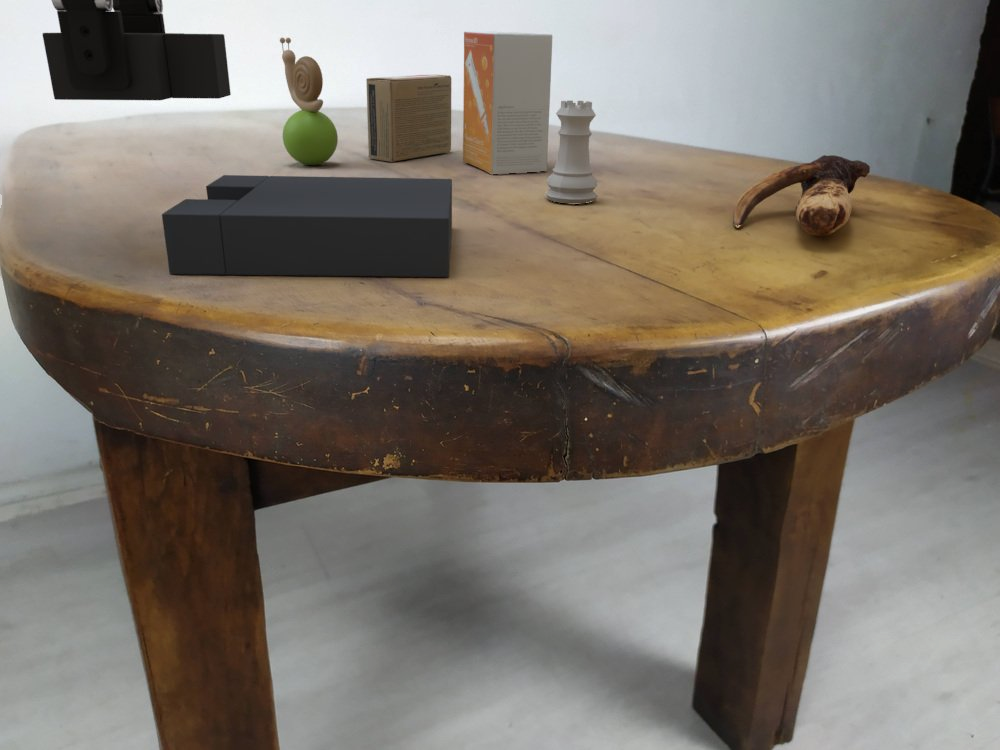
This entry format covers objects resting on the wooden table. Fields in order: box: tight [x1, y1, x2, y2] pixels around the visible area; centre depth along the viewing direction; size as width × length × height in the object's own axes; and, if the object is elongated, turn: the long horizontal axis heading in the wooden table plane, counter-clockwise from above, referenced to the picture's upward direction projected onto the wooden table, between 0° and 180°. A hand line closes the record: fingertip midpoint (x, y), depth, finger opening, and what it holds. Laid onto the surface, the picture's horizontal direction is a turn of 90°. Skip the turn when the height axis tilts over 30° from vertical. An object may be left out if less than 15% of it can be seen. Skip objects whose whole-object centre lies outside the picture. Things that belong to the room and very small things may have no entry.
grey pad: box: [161, 174, 453, 278], centre depth 53 cm, size 16×13×4 cm
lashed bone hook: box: [732, 154, 871, 237], centre depth 64 cm, size 9×5×18 cm
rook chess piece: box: [545, 99, 598, 203], centre depth 69 cm, size 4×4×8 cm
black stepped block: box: [42, 32, 232, 101], centre depth 49 cm, size 9×6×4 cm
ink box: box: [365, 74, 452, 163], centre depth 91 cm, size 10×4×8 cm, turn 144°
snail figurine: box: [279, 37, 339, 166], centre depth 83 cm, size 5×6×12 cm
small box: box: [462, 31, 553, 176], centre depth 84 cm, size 8×6×13 cm
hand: (124, 82), depth 50 cm, fingers closed on black stepped block, 6 cm apart
